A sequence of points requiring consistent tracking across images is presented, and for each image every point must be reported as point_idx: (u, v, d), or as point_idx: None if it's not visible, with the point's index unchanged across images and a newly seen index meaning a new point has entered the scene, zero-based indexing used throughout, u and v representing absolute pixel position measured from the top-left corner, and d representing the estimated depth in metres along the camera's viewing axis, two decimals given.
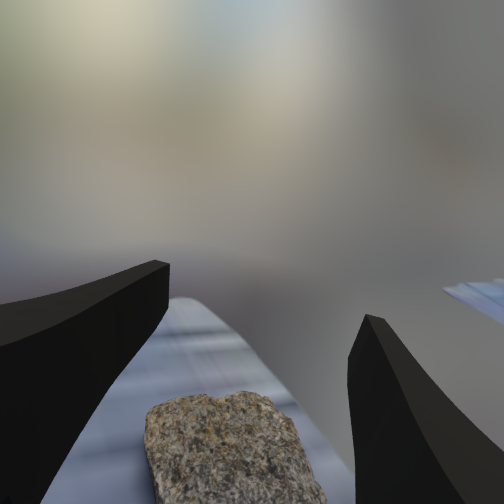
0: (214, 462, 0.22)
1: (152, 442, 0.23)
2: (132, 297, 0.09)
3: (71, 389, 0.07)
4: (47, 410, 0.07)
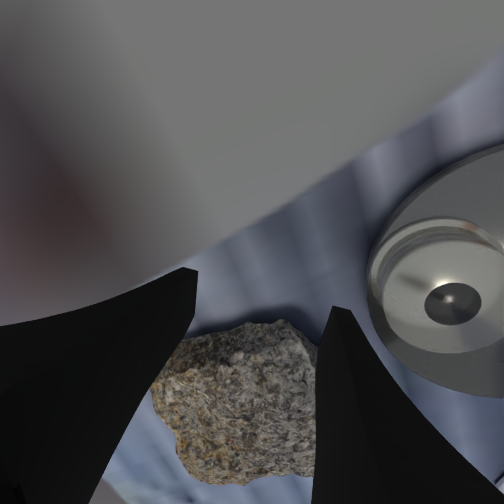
0: (248, 456, 0.21)
1: (237, 483, 0.24)
2: (166, 306, 0.09)
3: (112, 402, 0.07)
4: (91, 425, 0.07)
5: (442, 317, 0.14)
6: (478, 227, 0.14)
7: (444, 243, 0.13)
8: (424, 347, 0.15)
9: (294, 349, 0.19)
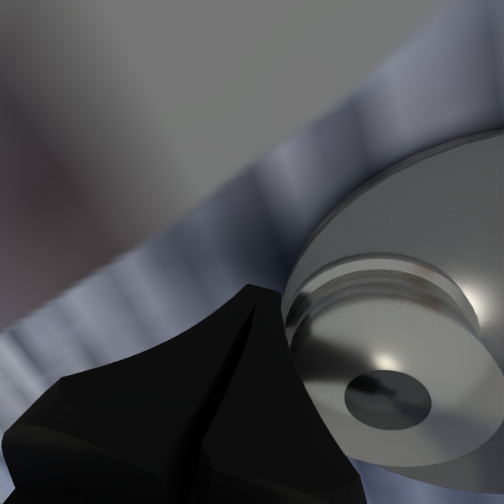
0: None
1: None
2: (246, 329, 0.09)
3: None
4: (197, 462, 0.06)
5: (372, 418, 0.09)
6: (433, 273, 0.09)
7: (369, 307, 0.08)
8: (351, 454, 0.10)
9: None
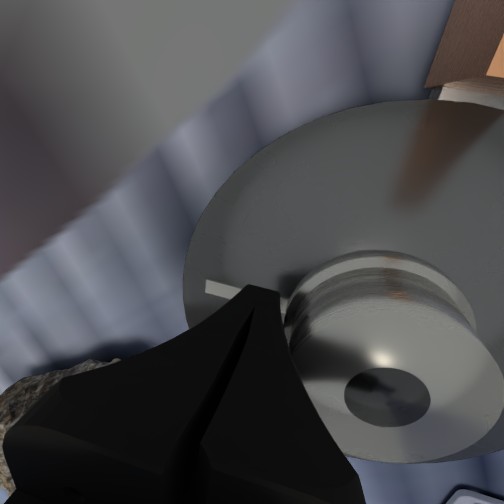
0: None
1: None
2: (246, 329, 0.09)
3: None
4: None
5: (372, 416, 0.09)
6: (429, 270, 0.09)
7: (367, 305, 0.08)
8: (352, 452, 0.10)
9: None
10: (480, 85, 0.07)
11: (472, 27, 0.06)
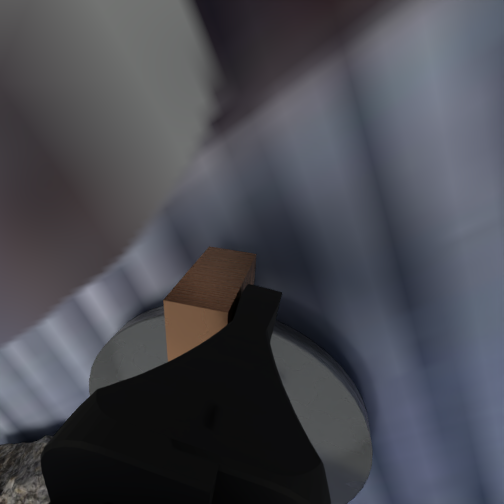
0: None
1: None
2: None
3: None
4: None
5: None
6: None
7: None
8: None
9: None
10: None
11: None
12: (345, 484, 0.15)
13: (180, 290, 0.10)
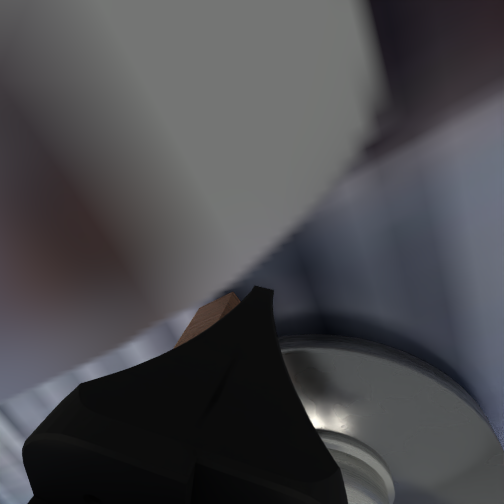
0: None
1: None
2: None
3: None
4: None
5: None
6: None
7: None
8: None
9: None
10: None
11: None
12: (486, 465, 0.13)
13: None
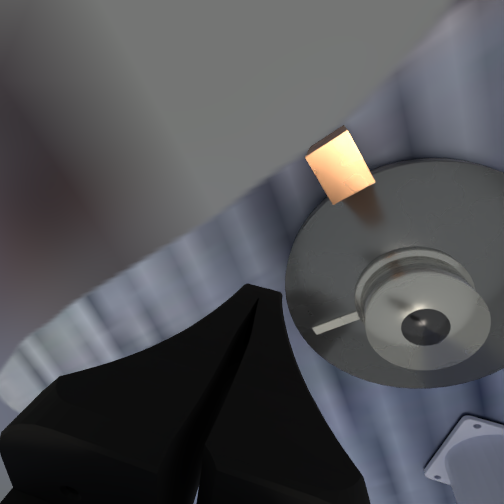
0: None
1: None
2: (244, 328, 0.09)
3: (207, 434, 0.07)
4: (195, 461, 0.06)
5: (429, 340, 0.15)
6: (402, 253, 0.16)
7: (376, 294, 0.15)
8: (444, 365, 0.16)
9: None
10: None
11: None
12: None
13: (311, 152, 0.14)
